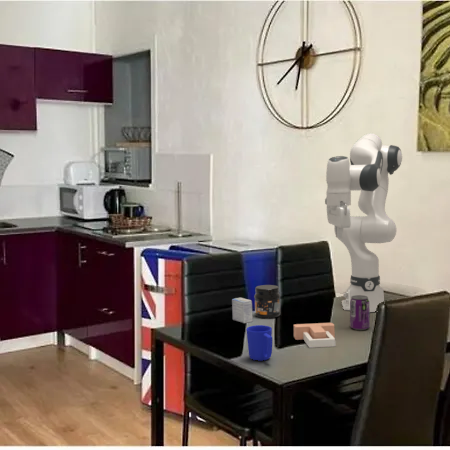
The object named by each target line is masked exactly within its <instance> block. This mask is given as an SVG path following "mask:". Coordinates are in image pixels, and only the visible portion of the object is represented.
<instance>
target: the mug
mask: <svg viewBox="0 0 450 450" xmlns="http://www.w3.org/2000/svg"><path fill="white" fill-rule="evenodd" d="M272 330H273V329H272V327H271V326H269V325H265V324H263V325H262V324H261V325H260V324H259V325H256V324H255V325H251V326H248V327H247V328H246V339H247V348H248V349H247V351H248V356H249V359H251V360H252V359H253V360H252V361H255V360H258V362H263V360H264V361H267V360H269V359H271V357H272V353H273V336H272V334H273V331H272Z"/></svg>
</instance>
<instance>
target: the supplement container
mask: <svg viewBox="0 0 450 450" xmlns="http://www.w3.org/2000/svg"><path fill="white" fill-rule="evenodd" d="M254 291H255V294H254V296H253V298H254V315H255V317H256V318H259V317H260V318H259V319H265V318H269V319H276V318H278V317H280V315H281V294H280V293H279V292H280V287H279V286H278V285H274V284H263V285H257V286H256V287H255V290H254ZM275 317H276V318H275Z"/></svg>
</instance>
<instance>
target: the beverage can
mask: <svg viewBox="0 0 450 450" xmlns="http://www.w3.org/2000/svg"><path fill="white" fill-rule="evenodd" d="M351 298H352V299H351V301H350V310H349V312H350V313H349V325H350V326H349V327H350V328H351V329H353V330H356V331H365V330H367V329H369V328H370V322H371V321H370V316H371V315H370V313H371V312H370V308H369V300H368V297H367V296H363V295H355V296H352V297H351Z"/></svg>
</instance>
